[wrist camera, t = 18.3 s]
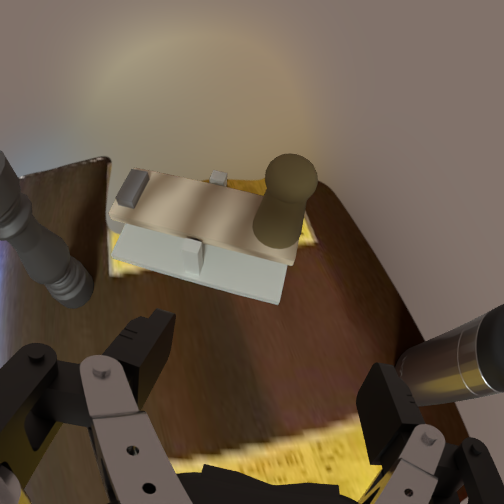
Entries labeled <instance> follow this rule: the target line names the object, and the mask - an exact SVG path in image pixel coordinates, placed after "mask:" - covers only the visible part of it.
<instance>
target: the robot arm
mask: <svg viewBox="0 0 504 504" xmlns="http://www.w3.org/2000/svg"><path fill="white" fill-rule="evenodd" d="M175 319H176V315H175V314H174V313H171V312H168V311H165V310H161V309H158V308H157V309H156V310H155V311H154V312H153V314H152V315H151V316H150V317H149V319H148V318H145V317H142V316H140V317H138V318H136V319H134V320H131V321H130V322H129V323H128V324H127V326H126V327H125V328H124V330H122V331H121V333H120V334H119V335H118V336H117V337H116V339H115V340H114V341H113V342H112V343H111V344H110V346H109V347H108V348H107V349H106V350H105V352H104V353H103V354H102V355H94V356H90V357H88V358H86V359H85V360H83V361H82V363H81V364H75V363H69V362H64V361H59V360H57V355H56V352H55V351H54V350H53V349H52V348H51V347H49V346H48V345H45V344H41V343H32V344H28V345H25V346H23V347H22V348H21V349H20V350H19V351H18V352H17V353H16V354H15V355H14V356H13V357H12V358H11V359H10V360H9V361H8V362H7V363H6V364H5V365H4V366H3V367H2V368H1V369H0V504H31V501H30V498H29V497H28V495H27V493H26V492H25V490H24V488H25V487H26V485H27V483H28V481H29V480H30V478H31V476H32V474H33V472H34V471H35V469H36V467H37V466H38V464H39V462H40V460H41V459H42V457H43V455H44V454H45V452H46V450H47V449H48V447H49V445H50V444H51V442H52V440H53V439H54V437H55V435H56V434H57V432H58V430H59V429H60V427H61V426H62V424H63V423H68V424H73V425H79V426H84V427H87V429H88V433H89V437H90V441H91V444H92V448H93V451H94V455H95V458H96V461H97V464H98V468H99V471H100V475H101V478H102V482H103V485H104V488H105V491H106V494H107V497H108V499H109V502H110V503H108V504H460V501H459V498H458V494H457V490H458V489H459V488H460V487H461V486H462V485H465V488H466V491H467V494H468V504H504V485H503V483H502V480H501V478H500V475H499V473H498V471H497V468H496V466H495V464H494V462H493V459H492V457H491V456H490V453H489V451H488V449H487V447H486V446H485V444H484V443H482V442H481V441H480V440H478V439H476V438H471V437H470V438H466V439H465V440H464V441H463V442H462V443H461V444H460V445H459V446H456V445H452V444H449V443H445V439H444V436H443V435H442V433H441V432H440V431H439V430H438V429H436V428H435V427H433V426H430V425H427V424H425V422H424V420H423V417H422V415H421V413H420V411H419V408H418V406H426V405H435V404H443V403H450V402H456V401H462V400H468V399H474V398H479V397H485V396H488V395H494V394H499V393H503V392H504V304H503V305H500V306H498V307H497V308H495V309H493V310H491V311H489V312H487V313H485V314H484V315H481V316H479V317H478V318H475V319H474V320H472V321H470V322H468V323H465V324H463V325H461V326H460V327H457V328H455V329H453V330H451V331H448V332H446V333H444V334H442V335H440V336H437V337H435V338H433V339H430V340H428V341H425V342H423V343H421V344H418V345H416V346H413V347H411V348H409V349H407V350H406V351H405V352H404V353H403V354H402V355H401V356H400V358H399V359H398V361H397V364H396V366H395V368H394V366H393V365H388V364H382V363H374V364H373V366H372V367H371V369H370V371H369V373H368V375H367V377H366V379H365V380H364V382H363V384H362V386H361V388H360V390H359V392H358V394H357V399H356V406H357V410H358V414H359V418H360V422H361V427H362V431H363V435H364V439H365V444H366V448H367V453H368V457H369V462H370V465H382V469H381V471H380V472H379V473H378V474H377V476H376V477H375V479H374V480H373V482H372V483H371V484H370V486H369V487H368V489H367V490H366V492H365V493H364V494H363V496H362V497H361V498H360V500H359V501H358V502H356V501H355V500H353V499H351V498H348V497H346V496H343V495H340V494H339V485H330V484H317V483H299V484H288V485H271V484H268V483H265V482H263V481H260V480H257V479H255V478H252V477H250V476H247V475H245V474H242V473H240V472H237V471H232V470H227V469H223V468H219V467H214V466H210V465H206V464H204V466H203V469H202V472H201V473H198V472H191V473H180V474H176V473H175V471H174V469H173V467H172V465H171V463H170V461H169V459H168V457H167V455H166V453H165V451H164V449H163V447H162V445H161V443H160V441H159V439H158V437H157V435H156V433H155V430H154V428H153V426H152V424H151V422H150V419H149V417H148V415H147V414H146V412H145V411H141V409H142V407H143V405H144V403H145V401H146V400H147V398H148V396H149V394H150V392H151V390H152V388H153V386H154V384H155V383H156V381H157V379H158V377H159V375H160V373H161V371H162V369H163V367H164V366H165V364H166V362H167V360H168V357H169V354H170V350H171V345H172V339H173V332H174V325H175Z"/></svg>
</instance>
